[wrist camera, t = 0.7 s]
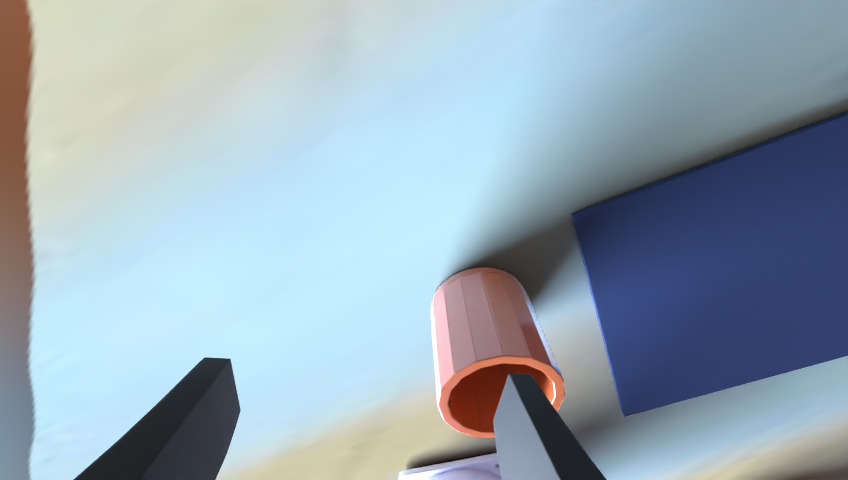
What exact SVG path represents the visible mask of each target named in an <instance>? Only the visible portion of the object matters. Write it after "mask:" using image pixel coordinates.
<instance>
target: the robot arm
mask: <svg viewBox="0 0 848 480" xmlns="http://www.w3.org/2000/svg"><path fill="white" fill-rule="evenodd" d="M239 414H240V406H239V400H238V395H237V390H236V385H235V380H234V375H233V370H232V365H231V360H230V359H223V358H204V359H203V360H201V361H200V362H199V363H198V364H197V365H196V366H195V367H194V368H193V369H192V370H191V371H190V372H189V373H188V374H187V375H186V376H185V377H184V378H183V379H182V380H181V381H180V382H179V383H178V384H177V385H176V386H175V387H174V388H173V389H172V390H171V391H170V392H169V393H168V394H167V395H166V396H165V397H164V398H163V399H162V400H161V401H160V402H159V403H157V404H156V405H155V406H154V407H153V408H152V409H151V410H150V411H149V412H148V413H147V414H146V415H145V416H144V417H143V418H142V419H141V420H140V421H138V422H137V423H136V424H135V425H134V426H133V427H132V428H131V429H130V430H129V431H128V432H127V433H126V434H125V435H123V436H122V437H121V438H120V439H119V440H118V441H117V442H116V443H115V444H114V445H113V446H111V447H110V448H109V449H108V450H107V451H106V452H105V453H103V454H102V455H101V456H100V457H99V458H98V459H97V460H95V461H94V462H93V463H92V464H91V465H90V466H89V467H87V468H86V469H85V470H84V471H83V472H82V473H81V474H79V475H78V476H77V477H76V478H75V479H74V480H215V479H216V477H217V475H218V472H219V470H220V468H221V466H222V463H223V461H224V459H225V456H226V454H227V451H228V448H229V445H230V442H231V439H232V436H233V433H234V430H235V427H236V423H237V420H238V417H239ZM493 425H494V433H495V442H496V449H497V453H494V454H489V455H483V456H478V457H473V458H467V459H462V460H457V461H452V462H446V463H441V464H436V465H430V466H425V467H420V468H414V469H409V470H404V471H402V472H400V474H399V479H400V480H606V478H605V477H604V476H603V474H602V473H601V472H600V471H599V469H598V468H597V467H596V465H595V464H594V463H593V461H592V460H591V459H590V457H589V456H588V455H587V453H586V452H585V451H584V449H583V448H582V446H581V445H580V444H579V442H578V441H577V440H576V438H575V437H574V436H573V434H572V433H571V431H570V430H569V429H568V427H567V426H566V424H565V423H564V421H563V420H562V419H561V417H560V416H559V414H558V413H557V411H556V410H555V408H554V407H553V406H552V404H551V403H550V401H549V400H548V398H547V397H546V395H545V394H544V392H543V391H542V389H541V388H540V386H539V385H538V383H537V382H536V380H535V379H534V377H533V376H532V375H531V374H516V373H509V374H508V377H507V380H506V383H505V386H504V389H503V392H502V395H501V398H500V401H499V404H498V407H497V410H496V413H495V416H494V419H493Z"/></svg>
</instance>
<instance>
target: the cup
mask: <svg viewBox="0 0 848 480" xmlns="http://www.w3.org/2000/svg"><path fill="white" fill-rule="evenodd" d="M431 329H432V342H433V355H434V368H435V382H436V395H437V406H438V408H439V411H440V413H441V416H442V418H443V420H444V421H445V422H446V423H448V424H449V425H450V426H451V427H453V428H454V429H455V430H456V431H458V432H461V433H465V434H468V435H471V436H474V437H479V438H495V433H494V425H493V419H494V416H495V413H496V410H497V407H498V404H499V401H500V398H501V395H502V392H503V389H504V386H505V383H506V380H507V377H508V374H509V373H516V374H531V375H532V376H533V377H534V379H535V380H536V382H537V383H538V385H539V386H540V388H541V389H542V391H543V392H544V394H545V395H546V397H547V398H548V400H549V401H550V403H551V404H552V406H553V407H554V408H555V410H556V411H558V410H559V408H560V406H561V404H562V402H563V400H564V397H565V387H564V379H563V377H562V374H561V372H560V370H559V367H558V365H557V363H556V360H555V358H554V356H553V353H552V351H551V349H550V346H549V344H548V341H547V339H546V337H545V334H544V332H543V330H542V327H541V325H540V323H539V320H538V318H537V316H536V313H535V311H534V309H533V306H532V304H531V301H530V299H529V297H528V295H527V293H526V292H525V290H524V287H523V286H522V284H521V283H520V282H519V281H518V280H517V279H516V278H515V277H514V276H513V275H511V274H509V273H507V272H505V271H503V270H500V269H496V268H490V267H478V268H471V269H467V270H464V271H461V272H459V273H456V274H455V275H453V276H451V277H450V278H448V279H447V280H445V281H444V282H443V283H442V284H441V285H440V287H439V288H438V289H437V291H436V292H435V294H434V296H433V298H432V302H431Z"/></svg>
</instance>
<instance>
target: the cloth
mask: <svg viewBox="0 0 848 480" xmlns="http://www.w3.org/2000/svg"><path fill="white" fill-rule="evenodd" d="M572 219H573V222H574V226H575V230H576V234H577V238H578V242H579V246H580V250H581V254H582V258H583V262H584V266H585V270H586V274H587V277H588V281H589V285H590V289H591V293H592V297H593V301H594V305H595V309H596V313H597V317H598V321H599V325H600V328H601V332H602V336H603V340H604V344H605V348H606V352H607V356H608V360H609V364H610V368H611V372H612V376H613V379H614V383H615V387H616V391H617V395H618V399H619V403H620V407H621V411H622V414H623V416H624V417H625V416H629V415H633V414H636V413H640V412H644V411H647V410H651V409H655V408H658V407H662V406H665V405H669V404H673V403H676V402H680V401H684V400H687V399H691V398H695V397H698V396H702V395H706V394H709V393H713V392H717V391H720V390H724V389H728V388H731V387H735V386H739V385H742V384H746V383H749V382H753V381H757V380H760V379H764V378H768V377H771V376H775V375H779V374H782V373H786V372H790V371H793V370H797V369H801V368H804V367H808V366H812V365H815V364H819V363H823V362H826V361H830V360H833V359H837V358H841V357H844V356H848V111H846V112H844V113H841V114H838V115H836V116H833V117H830V118H828V119H825V120H822V121H820V122H817V123H814V124H811V125H809V126H806V127H803V128H801V129H798V130H795V131H793V132H790V133H787V134H785V135H782V136H779V137H777V138H774V139H771V140H769V141H766V142H763V143H761V144H758V145H755V146H752V147H750V148H747V149H744V150H742V151H739V152H736V153H734V154H731V155H728V156H726V157H723V158H720V159H718V160H715V161H712V162H710V163H707V164H704V165H702V166H699V167H696V168H694V169H691V170H688V171H685V172H683V173H680V174H677V175H675V176H672V177H669V178H667V179H664V180H661V181H659V182H656V183H653V184H651V185H648V186H645V187H643V188H640V189H637V190H635V191H632V192H629V193H626V194H624V195H621V196H618V197H616V198H613V199H610V200H608V201H605V202H602V203H600V204H597V205H594V206H592V207H589V208H586V209H584V210H581V211H578V212H576V213H573V214H572Z"/></svg>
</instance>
